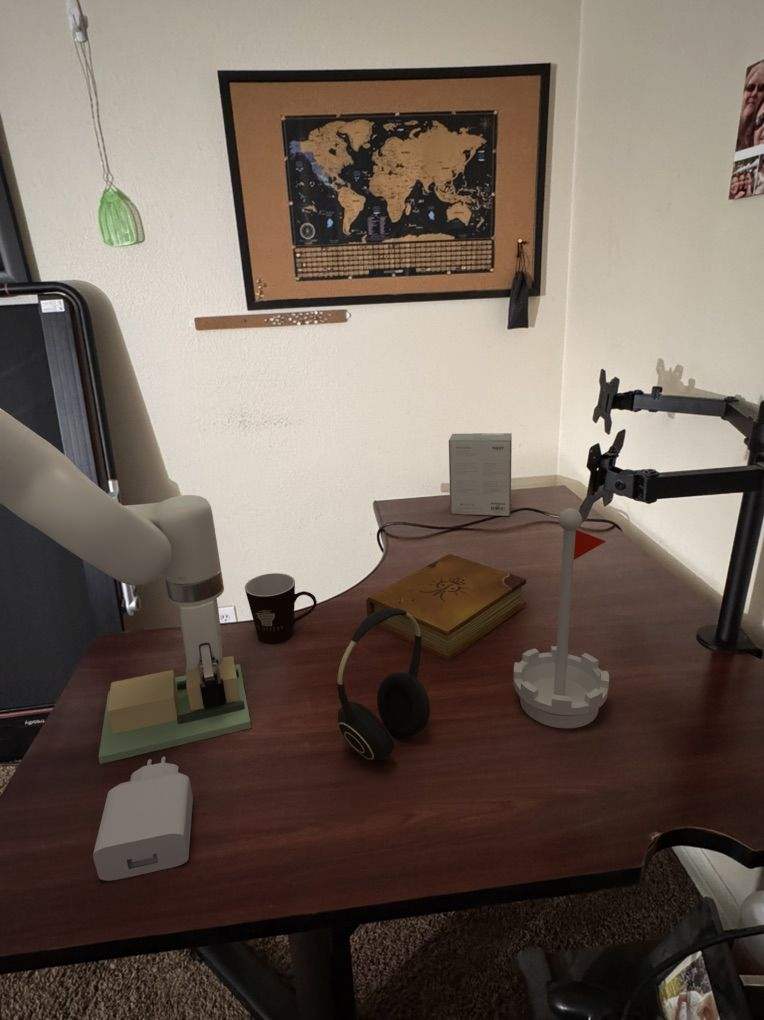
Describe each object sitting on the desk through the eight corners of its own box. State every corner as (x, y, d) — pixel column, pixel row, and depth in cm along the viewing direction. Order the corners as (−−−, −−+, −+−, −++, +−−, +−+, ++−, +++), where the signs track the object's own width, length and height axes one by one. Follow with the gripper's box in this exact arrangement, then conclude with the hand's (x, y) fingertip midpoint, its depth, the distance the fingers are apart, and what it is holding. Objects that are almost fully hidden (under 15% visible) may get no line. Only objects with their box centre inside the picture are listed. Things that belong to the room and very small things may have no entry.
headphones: (445, 729, 87) (444, 601, 80) (368, 790, 77) (359, 651, 70) (400, 702, 93) (395, 581, 86) (323, 756, 83) (310, 624, 76)
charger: (196, 766, 82) (189, 864, 69) (122, 781, 81) (100, 883, 67) (191, 737, 81) (182, 831, 67) (115, 751, 79) (91, 850, 65)
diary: (446, 578, 129) (446, 552, 127) (525, 606, 117) (526, 578, 115) (367, 622, 114) (365, 594, 112) (448, 661, 102) (447, 630, 100)
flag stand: (532, 739, 84) (542, 533, 74) (500, 681, 96) (505, 497, 86) (623, 726, 86) (646, 522, 75) (581, 670, 98) (595, 488, 87)
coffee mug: (241, 638, 111) (234, 588, 108) (275, 617, 118) (269, 569, 114) (289, 658, 105) (283, 605, 101) (323, 634, 111) (318, 584, 108)
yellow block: (191, 711, 90) (186, 688, 89) (189, 687, 96) (185, 665, 94) (240, 700, 92) (236, 677, 91) (236, 677, 98) (233, 655, 96)
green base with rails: (99, 764, 84) (91, 732, 82) (109, 697, 97) (102, 669, 95) (251, 728, 89) (246, 697, 87) (240, 669, 102) (236, 642, 101)
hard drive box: (511, 506, 166) (513, 433, 159) (509, 517, 159) (512, 440, 152) (452, 504, 170) (452, 432, 163) (449, 514, 163) (448, 439, 156)
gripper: (167, 563, 94) (186, 665, 100) (166, 619, 79) (189, 735, 85) (218, 555, 96) (234, 655, 102) (227, 607, 81) (245, 721, 87)
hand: (213, 690), depth 94 cm, fingers closed on yellow block, 6 cm apart
